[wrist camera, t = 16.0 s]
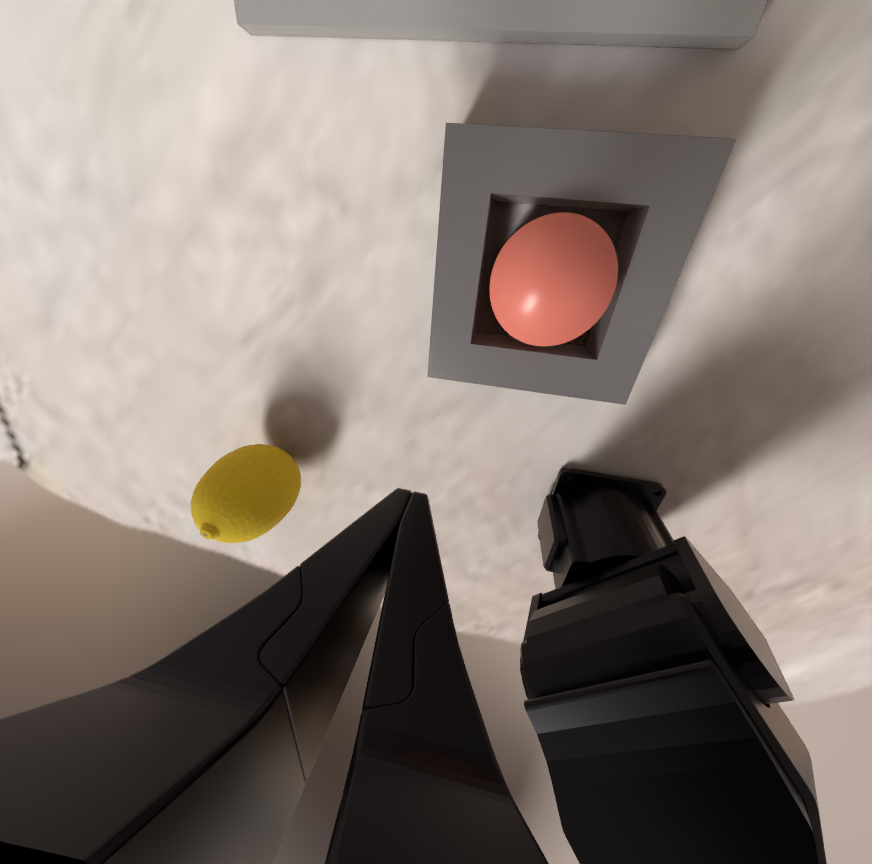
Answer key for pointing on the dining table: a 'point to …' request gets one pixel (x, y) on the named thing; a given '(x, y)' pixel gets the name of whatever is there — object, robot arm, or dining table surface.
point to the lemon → (245, 493)
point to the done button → (553, 279)
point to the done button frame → (581, 188)
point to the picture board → (512, 20)
